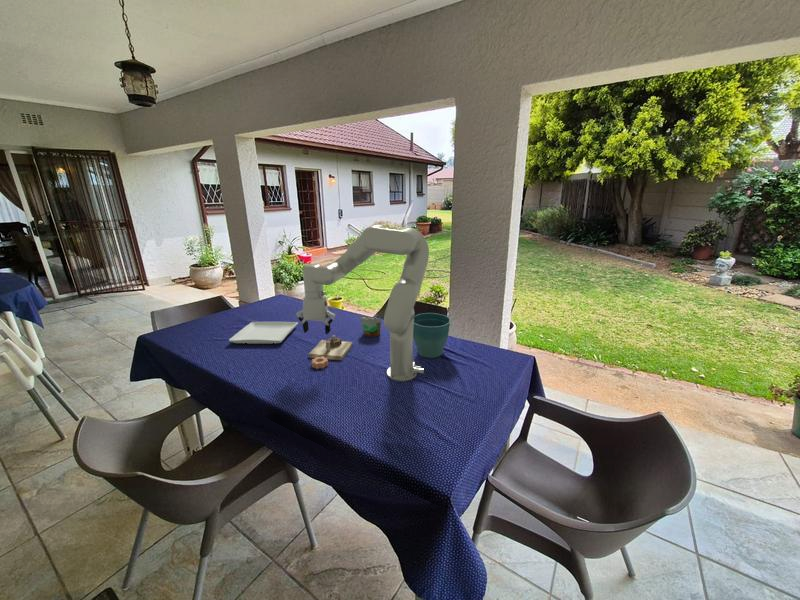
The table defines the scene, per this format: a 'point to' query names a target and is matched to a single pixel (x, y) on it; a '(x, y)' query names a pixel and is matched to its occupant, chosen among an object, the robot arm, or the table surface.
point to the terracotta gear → (319, 362)
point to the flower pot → (430, 333)
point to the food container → (371, 326)
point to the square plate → (264, 332)
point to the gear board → (331, 349)
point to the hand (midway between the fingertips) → (316, 332)
